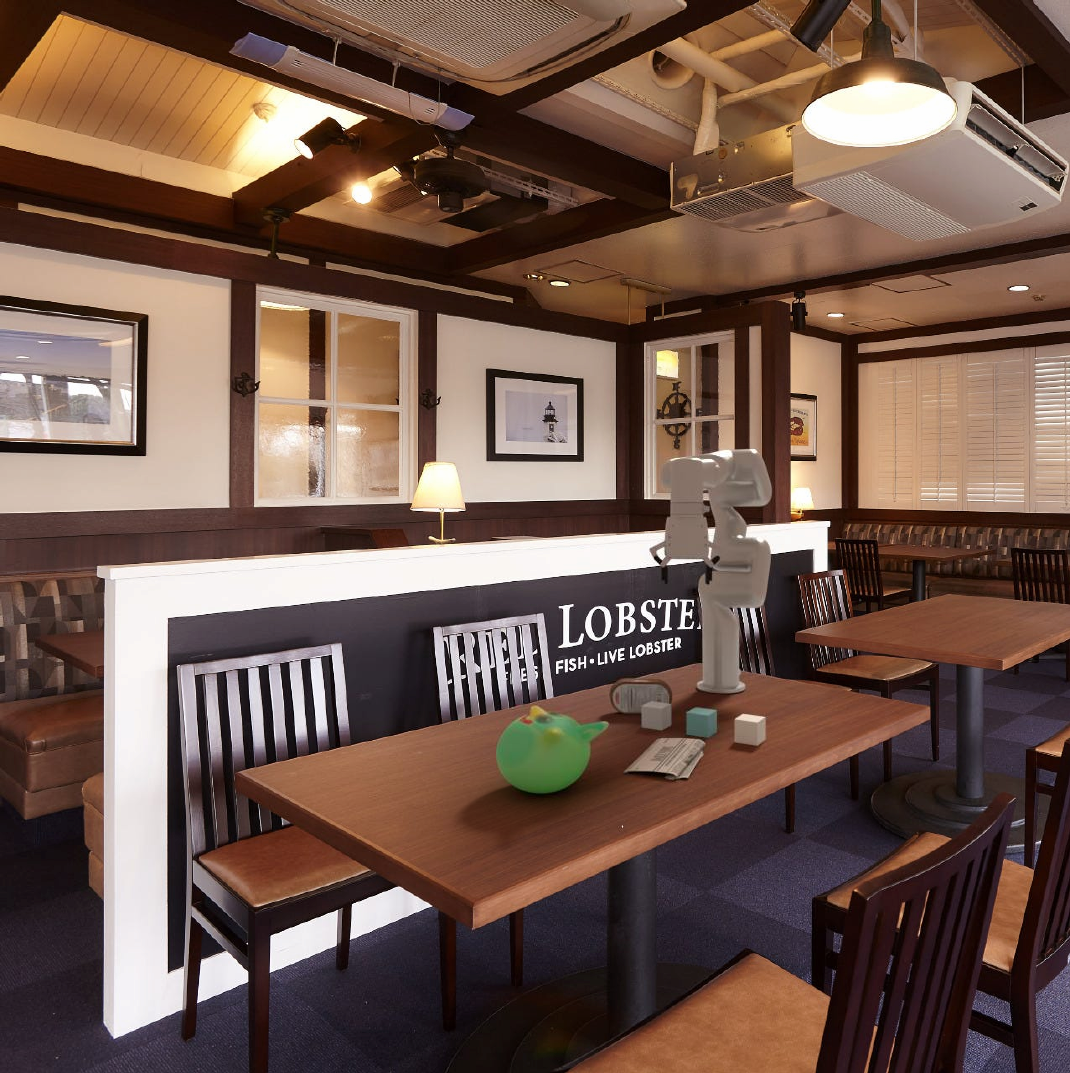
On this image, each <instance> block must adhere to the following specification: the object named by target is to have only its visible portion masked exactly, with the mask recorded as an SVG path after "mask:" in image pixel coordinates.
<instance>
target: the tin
mask: <svg viewBox="0 0 1070 1073" xmlns="http://www.w3.org/2000/svg"><path fill="white" fill-rule="evenodd" d="M609 700H610V703H611V705H612V708H613V709H614V710H616V711H617V712H619V713H621V714H624V715H642V712H641V706H642V705H644V704H646V703H649V702H651V701H654V702H661V703H668V704H671V705H672V702H673V692H672V688H671V687H670V685H669V684H668V683H667V682H666V681H664V680H662V679H659V678H631V677H630V678H629V677H628V678H627V677H626V678H621V679H619V680H617V681H615V682H614V683H613V685H611V687H610V690H609Z"/></svg>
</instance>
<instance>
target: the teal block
mask: <svg viewBox="0 0 1070 1073" xmlns="http://www.w3.org/2000/svg"><path fill="white" fill-rule="evenodd" d="M685 713H686V735H689V736H694V737H700V738H701V737H702V738H706V739H707V738H710V737H712V736H713V735H715V734H717V732H718V710H717V709H711V708H702V707H696V706H695V707H694V708H692V709H690V710H688V711H686V712H685Z"/></svg>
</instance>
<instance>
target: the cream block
mask: <svg viewBox="0 0 1070 1073" xmlns="http://www.w3.org/2000/svg"><path fill="white" fill-rule="evenodd" d="M766 720H767V719H766V716H761V715H752V714H746V713H742V714H740V715H739V716H737V717H735V719H734V743H738V744H745V745H751V746H756V747H758V746H759V745H760V744H762V743H763V742H765V741H766V740H767V738H766V734H767V732H766V731H767V729H766V728H767V726H766V723H767V721H766Z"/></svg>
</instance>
